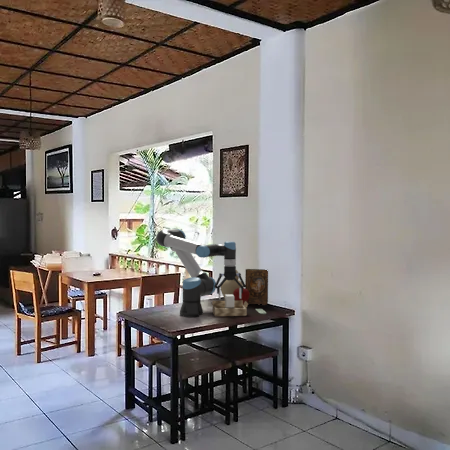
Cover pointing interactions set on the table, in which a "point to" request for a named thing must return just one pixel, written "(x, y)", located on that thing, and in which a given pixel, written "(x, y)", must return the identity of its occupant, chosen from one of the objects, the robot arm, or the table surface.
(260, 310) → the mat
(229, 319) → the table surface
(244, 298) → the apple
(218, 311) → the carton
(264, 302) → the book
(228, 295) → the block
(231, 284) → the vase
